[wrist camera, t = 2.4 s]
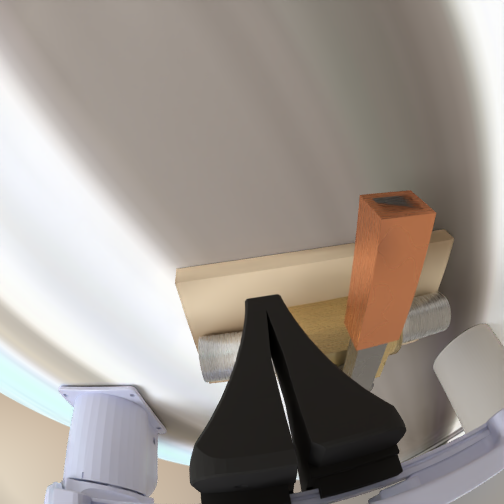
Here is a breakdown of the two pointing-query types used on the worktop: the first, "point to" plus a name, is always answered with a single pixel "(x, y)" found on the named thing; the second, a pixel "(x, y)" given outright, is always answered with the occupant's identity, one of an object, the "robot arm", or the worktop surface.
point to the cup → (473, 375)
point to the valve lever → (383, 276)
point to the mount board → (283, 283)
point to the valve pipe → (327, 333)
